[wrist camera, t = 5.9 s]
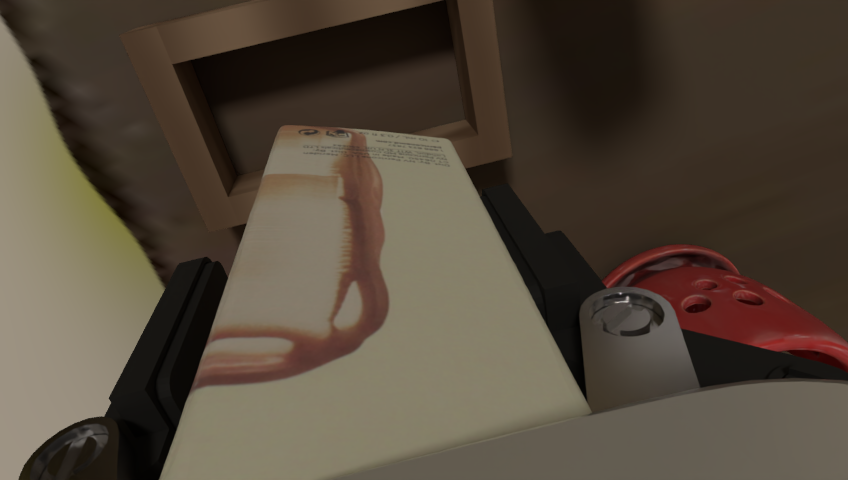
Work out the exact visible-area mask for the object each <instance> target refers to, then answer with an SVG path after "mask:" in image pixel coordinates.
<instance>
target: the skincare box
mask: <svg viewBox="0 0 848 480" xmlns="http://www.w3.org/2000/svg"><path fill="white" fill-rule="evenodd" d="M589 413H592V411H591V409H590V407H589V405H588V403H587V402H586V400H585V398H584V396H583V394H582V392H581V390H580V388H579V387H578V385H577V383H576V381H575V379H574V377H573V375H572V373H571V371H570V369H569V367H568V366H567V364H566V362H565V360H564V358H563V356H562V354H561V352H560V350H559V348H558V346H557V344H556V342H555V340H554V338H553V337H552V335H551V333H550V331H549V329H548V327H547V325H546V323H545V321H544V319H543V318H542V316H541V314H540V312H539V310H538V308H537V306H536V304H535V302H534V300H533V298H532V296H531V294H530V292H529V290H528V288H527V287H526V285H525V283H524V281H523V279H522V277H521V275H520V273H519V271H518V269H517V267H516V265H515V263H514V262H513V260H512V258H511V256H510V254H509V252H508V250H507V248H506V246H505V244H504V242H503V241H502V239H501V237H500V235H499V233H498V231H497V229H496V227H495V225H494V224H493V221H492V219H491V217H490V215H489V214H488V212H487V210H486V208H485V206H484V204H483V202H482V200H481V199H480V197H479V195H478V192H477V190H476V189H475V187H474V185H473V183H472V181H471V179H470V177H469V175H468V173H467V171H466V169H465V167H464V166H463V164H462V162H461V160H460V158H459V156H458V154H457V152H456V150H455V148H454V146H453V144H452V143H451V141H449V140H448V139H444V138H435V137H427V136H418V135H410V134H401V133H392V132H382V131H371V130H360V129H348V128H334V127H316V126H295V125H285V126H282V127H281V128H280V129H279V131H278V133H277V136H276V138H275V141H274V144H273V147H272V150H271V152H270V156H269V159H268V162H267V165H266V168H265V171H264V174H263V177H262V180H261V184H260V186H259V189H258V193H257V196H256V199H255V202H254V204H253V207H252V210H251V212H250V215H249V218H248V221H247V225H246V228H245V231H244V234H243V237H242V240H241V243H240V245H239V248H238V251H237V254H236V257H235V260H234V263H233V266H232V269H231V272H230V274H229V277H228V280H227V283H226V286H225V289H224V292H223V295H222V298H221V301H220V304H219V307H218V310H217V313H216V316H215V319H214V322H213V325H212V328H211V332H210V335H209V338H208V341H207V344H206V347H205V349H204V352H203V355H202V358H201V361H200V364H199V367H198V370H197V373H196V376H195V379H194V382H193V385H192V387H191V390H190V393H189V395H188V398H187V400H186V403H185V406H184V409H183V412H182V415H181V419H180V422H179V425H178V428H177V431H176V434H175V436H174V439H173V442H172V445H171V448H170V450H169V453H168V456H167V459H166V462H165V464H164V467H163V470H162V473H161V476H160V479H159V480H328V479H332V478H336V477H340V476H344V475H348V474H352V473H355V472H359V471H363V470H367V469H371V468H375V467H379V466H383V465H387V464H391V463H395V462H399V461H402V460H406V459H410V458H414V457H418V456H422V455H426V454H430V453H434V452H438V451H442V450H446V449H450V448H454V447H458V446H462V445H465V444H469V443H473V442H477V441H481V440H485V439H489V438H493V437H497V436H501V435H505V434H509V433H513V432H517V431H521V430H525V429H529V428H533V427H537V426H541V425H545V424H549V423H553V422H557V421H561V420H565V419H569V418H573V417H577V416H581V415H585V414H589Z"/></svg>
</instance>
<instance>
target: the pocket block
mask: <svg viewBox="0 0 848 480" xmlns="http://www.w3.org/2000/svg"><path fill="white" fill-rule="evenodd" d="M438 1H442V0H253V1H249V2H244V3H240V4H236V5H231V6H227V7H223V8H219V9H214V10H210V11H206V12H201V13H197V14H193V15H189V16H184V17H180V18H176V19H171V20H167V21H163V22H159V23H154V24H150V25H146V26H141V27H139V28H136V29H133V30H131V31H128V32H126V33H123V34H121V35H119V36H120V38H121V40H122V43H123V45H124V47H125V49H126V51H127V54H128V56H129V58H130V60H131V62H132V65H133V67H134V69H135V71H136V73H137V76H138V78H139V80H140V82H141V84H142V87H143V89H144V91H145V93H146V95H147V98H148V100H149V102H150V104H151V106H152V108H153V111H154V113H155V115H156V117H157V119H158V122H159V124H160V126H161V128H162V130H163V133H164V135H165V137H166V139H167V141H168V144H169V146H170V148H171V150H172V152H173V155H174V157H175V159H176V161H177V163H178V166H179V168H180V170H181V172H182V174H183V177H184V179H185V181H186V183H187V185H188V188H189V190H190V192H191V194H192V196H193V199H194V201H195V203H196V205H197V207H198V209H199V212H200V214H201V216H202V218H203V220H204V223H205V225H206V227H207V229H208V231H209V233H210V232H214V231H218V230H222V229H226V228H230V227H234V226H238V225H242V224H246V223H247V221H248V218H249V215H250V212H251V210H252V207H253V204H254V202H255V199H256V196H257V193H258V189H259V186H260V184H261V180H262V177H263V174H264V171H265V169H262V170H258V171H254V172H250V173H246V174H242V175H238V176H237V175H236V172H235V170H234V167H233V165H232V162H231V160H230V157H229V155H228V152H227V150H226V147H225V145H224V142H223V140H222V137H221V135H220V132H219V130H218V127H217V125H216V122H215V120H214V118H213V115H212V113H211V110H210V108H209V105H208V103H207V100H206V98H205V95H204V93H203V90H202V88H201V85H200V83H199V80H198V78H197V75H196V73H195V70H194V68H193V65H192V63H191V60H192V59H197V58H201V57H205V56H209V55H214V54H218V53H222V52H226V51H231V50H235V49H239V48H243V47H247V46H252V45H256V44H260V43H264V42H269V41H273V40H277V39H281V38H285V37H290V36H294V35H298V34H302V33H307V32H311V31H315V30H319V29H324V28H328V27H332V26H336V25H340V24H345V23H349V22H353V21H357V20H362V19H366V18H370V17H374V16H378V15H383V14H387V13H391V12H395V11H400V10H404V9H408V8H412V7H416V6H421V5H425V4H429V3H433V2H438ZM446 5H447V11H448V17H449V23H450V29H451V35H452V41H453V47H454V53H455V59H456V65H457V71H458V77H459V83H460V89H461V95H462V101H463V107H464V114H465V120H462V121H458V122H454V123H449V124H445V125H441V126H437V127H433V128H429V129H425V130H421V131H417V132H413V133H409V134H410V135H418V136H427V137H435V138H444V139H448V140H449V141H451V143H452V144H453V146H454V148H455V150H456V152H457V154H458V156H459V158H460V160H461V162H462V164H463V166H464V167H465V169H466V168H470V167H474V166H478V165H482V164H486V163H490V162H494V161H498V160H502V159H506V158H510V157H512V150H511V143H510V135H509V127H508V119H507V111H506V103H505V95H504V87H503V79H502V71H501V63H500V55H499V48H498V40H497V32H496V24H495V16H494V8H493V0H446Z"/></svg>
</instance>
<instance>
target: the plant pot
mask: <svg viewBox="0 0 848 480" xmlns="http://www.w3.org/2000/svg"><path fill="white" fill-rule="evenodd" d="M602 282H603V283H604V285H605V286H606V287H607V288H614V287H636V288H641V289H646V290H649V291H652V292H654V293H656V294H658V295H660V296H662V297H663V298H664V299H666V300H667V301H668V302H669V303H670V304H671V306H672V308H673V309H674V311H675V314H676V317H677V320H678V322H679V325H680V328H682V329H686V330H690V331H694V332H698V333H703V334H707V335H711V336H715V337H719V338H723V339H727V340H731V341H736V342H740V343H744V344H748V345H752V346H756V347H760V348H764V349H769V350H773V351H777V352H782V351H787V352H789V353H791V354H792V355H794V356H798V357H802V358H806V359H810V360H814V361H818V362H822V363H825V364H828V365H831V366H834V367H837V368H840V369H841V370H843V371H845V372H847V373H848V342H846V341H845V340H844V339H843V338H842V337H840V336H839V335H838V334H837V333H836V332H834V331H833V330H832V329H830V328H829V327H828V326H827V325H825V324H824V323H823V322H821V321H820V320H819V319H817V318H816V317H814V316H813V315H811V314H810V313H808V312H807V311H805V310H804V309H802V308H800V307H799V306H797V305H796V304H794V303H793V302H791V301H790V300H788V299H787V298H785V297H784V296H782V295H781V294H779V293H778V292H776V291H775V290H773V289H771V288H769V287H767V286H765V285H763V284H761V283H759V282H757V281H755V280H753V279H750V278H748V277H745V276H742V275H740V274H739V272H738V270H737V269H736V267H735V266H734V265H733V264H732V263H731V262H730V261H729V260H728V259H727V258H726V257H724V256H723V255H721V254H719V253H717V252H715V251H713V250H711V249H708V248H704V247H701V246H695V245H684V244H683V245H667V246H663V247H657V248H654V249H651V250H648V251H645V252H643V253H640V254H638V255H636V256H634V257H632V258H630V259H629V260H627V261H625V262H624V263H622V264H621V265H619V266H618V267H617V268H615V269H614V270H613V271H612V272H610V273H609V274H608V275H607V276H606V277H605V278H604V279H603V280H602Z"/></svg>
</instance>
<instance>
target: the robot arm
mask: <svg viewBox="0 0 848 480" xmlns="http://www.w3.org/2000/svg"><path fill="white" fill-rule="evenodd" d="M480 199H481V200H482V202H483V204H484V206H485V208H486V210H487V212H488V214H489V215H490V217H491V219H492V221H493V224H494V225H495V227H496V229H497V231H498V233H499V235H500V237H501V239H502V241H503V242H504V244H505V246H506V248H507V250H508V252H509V254H510V256H511V258H512V260H513V262H514V263H515V265H516V267H517V269H518V271H519V273H520V275H521V277H522V279H523V281H524V283H525V285H526V287H527V288H528V290H529V292H530V294H531V296H532V298H533V300H534V302H535V304H536V306H537V308H538V310H539V312H540V314H541V316H542V318H543V319H544V321H545V323H546V325H547V327H548V329H549V331H550V333H551V335H552V337H553V338H554V340H555V342H556V344H557V346H558V348H559V350H560V352H561V354H562V356H563V358H564V360H565V362H566V364H567V366H568V367H569V369H570V371H571V373H572V375H573V377H574V379H575V381H576V383H577V385H578V387H579V388H580V390H581V392H582V394H583V396H584V398H585V400H586V402H587V403H588V405H589V407H590V409H591V411H592V413H589V414H585V415H581V416H577V417H573V418H569V419H565V420H561V421H557V422H553V423H549V424H545V425H541V426H537V427H533V428H529V429H525V430H521V431H517V432H513V433H509V434H505V435H501V436H497V437H493V438H489V439H485V440H481V441H477V442H473V443H469V444H465V445H462V446H458V447H454V448H450V449H446V450H442V451H438V452H434V453H430V454H426V455H422V456H418V457H414V458H410V459H406V460H402V461H399V462H395V463H391V464H387V465H383V466H379V467H375V468H371V469H367V470H363V471H359V472H355V473H352V474H348V475H344V476H340V477H336V478H332V479H328V480H848V373H847V372H845V371H843V370H841V369H840V368H837V367H834V366H831V365H828V364H825V363H822V362H818V361H814V360H810V359H806V358H802V357H798V356H793V355H789V354H785V353H781V352H777V351H773V350H769V349H764V348H760V347H756V346H752V345H748V344H744V343H740V342H736V341H731V340H727V339H723V338H719V337H715V336H711V335H707V334H703V333H698V332H694V331H690V330H686V329H682V328H680V325H679V322H678V320H677V317H676V314H675V311H674V309H673V308H672V306H671V304H670V303H669V302H668V301H667V300H666V299H664V298H663V297H662V296H660V295H658V294H656V293H654V292H652V291H649V290H646V289H641V288H636V287H614V288H607V287H606V286H605V285H604V283H603V282H602V281H601V280H600V278H599V277H598V276H597V275H596V273H595V272H594V271H593V270H592V268H591V267H590V266H589V265H588V263H587V262H586V261H585V260H584V258H583V257H582V256H581V255H580V253H579V252H578V251H577V250H576V248H575V247H574V246H573V245H572V243H571V242H570V241H569V240H568V238H567V237H566V236H565V235H564V233H562V232H561V231H555V232H550V233H546V234H544V232H543V231H542V230H541V228H540V227H539V226H538V224H537V223H536V221H535V220H534V219H533V217H532V216H531V215H530V213H529V212H528V210H527V209H526V208H525V206H524V205H523V204H522V202H521V201H520V199H519V198H518V197H517V195H516V194H515V193H514V191H513V190H512V188H511V187H510V186H509V184H503V185H499V186H494V187H490V188H486V189H483V190H482V196H481V197H480ZM227 280H228V277H227V275H226V273H225V270H224V268H223V266H222V265H221V263H220V262H218V261H215V262H212V261H211V260H210V259H209V258H208V257H204V258H200V259H195V260H191V261H187V262H183V263H179V265H178V266H177V268H176V270H175V271H174V273H173V275H172V277H171V279H170V281H169V283H168V285H167V287H166V289H165V291H164V293H163V295H162V297H161V298H160V300H159V302H158V304H157V306H156V308H155V310H154V312H153V314H152V316H151V318H150V320H149V322H148V324H147V325H146V327H145V329H144V331H143V333H142V335H141V337H140V339H139V341H138V343H137V345H136V347H135V349H134V351H133V353H132V354H131V356H130V358H129V360H128V362H127V364H126V366H125V368H124V370H123V372H122V374H121V376H120V378H119V380H118V381H117V384H116V385H115V387H114V389H113V391H112V393H111V395H110V397H109V399H110V401H111V404H110V406H109V408H108V410H107V412H106V414H105V416H104V417H94V418H88V419H85V420H82V421H80V422H77V423H74V424H72V425H70V426H69V427H67V428H65V429H63V430H61V431H59V432H58V433H57V434H55V435H54V436H52V437H51V438H50V439H48V440H47V441H46V442H45V443H44V444H42V445H41V446H40V447H39V448H38V449H37V450H36V451H35V452H34V453H33V454H32V455H31V457H30V458H29V459H28V461H27V462H26V463H25V465H24V467H23V469H22V471H21V474H20V476H19V480H159V479H160V476H161V473H162V470H163V467H164V464H165V462H166V459H167V456H168V453H169V450H170V448H171V445H172V442H173V439H174V436H175V434H176V431H177V428H178V425H179V422H180V419H181V415H182V412H183V409H184V406H185V403H186V400H187V398H188V395H189V393H190V390H191V387H192V385H193V382H194V379H195V376H196V373H197V370H198V367H199V364H200V361H201V358H202V355H203V352H204V349H205V347H206V344H207V341H208V338H209V335H210V332H211V328H212V325H213V322H214V319H215V316H216V313H217V310H218V307H219V304H220V301H221V298H222V295H223V292H224V289H225V286H226V283H227Z"/></svg>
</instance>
